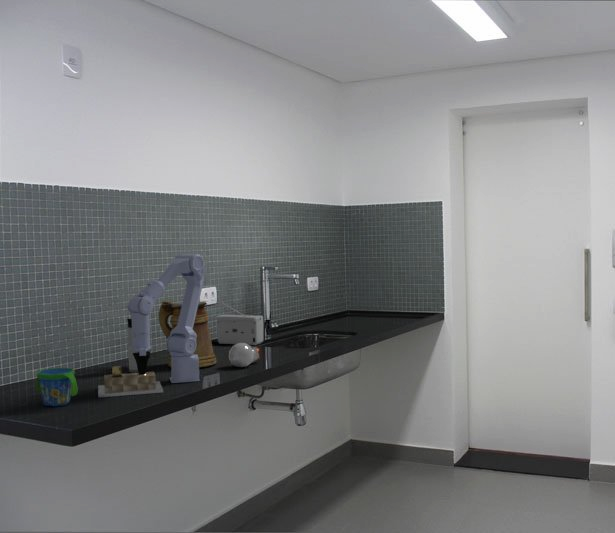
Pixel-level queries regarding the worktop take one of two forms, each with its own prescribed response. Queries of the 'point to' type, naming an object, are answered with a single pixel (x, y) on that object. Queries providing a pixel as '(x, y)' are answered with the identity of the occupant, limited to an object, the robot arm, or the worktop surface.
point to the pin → (116, 371)
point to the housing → (130, 381)
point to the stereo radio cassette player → (240, 329)
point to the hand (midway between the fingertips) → (142, 374)
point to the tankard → (199, 327)
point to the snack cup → (56, 386)
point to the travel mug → (131, 358)
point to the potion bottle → (243, 354)
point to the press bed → (129, 391)
